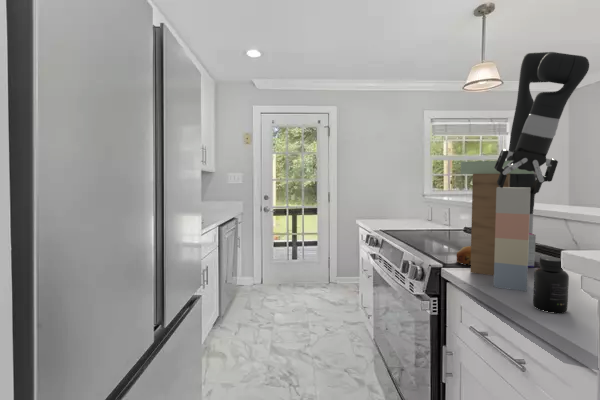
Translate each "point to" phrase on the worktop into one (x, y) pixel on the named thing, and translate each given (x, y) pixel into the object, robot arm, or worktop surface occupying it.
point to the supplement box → (531, 250)
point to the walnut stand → (484, 222)
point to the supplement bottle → (551, 286)
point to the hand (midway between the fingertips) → (516, 190)
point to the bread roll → (464, 255)
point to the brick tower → (512, 237)
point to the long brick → (487, 168)
